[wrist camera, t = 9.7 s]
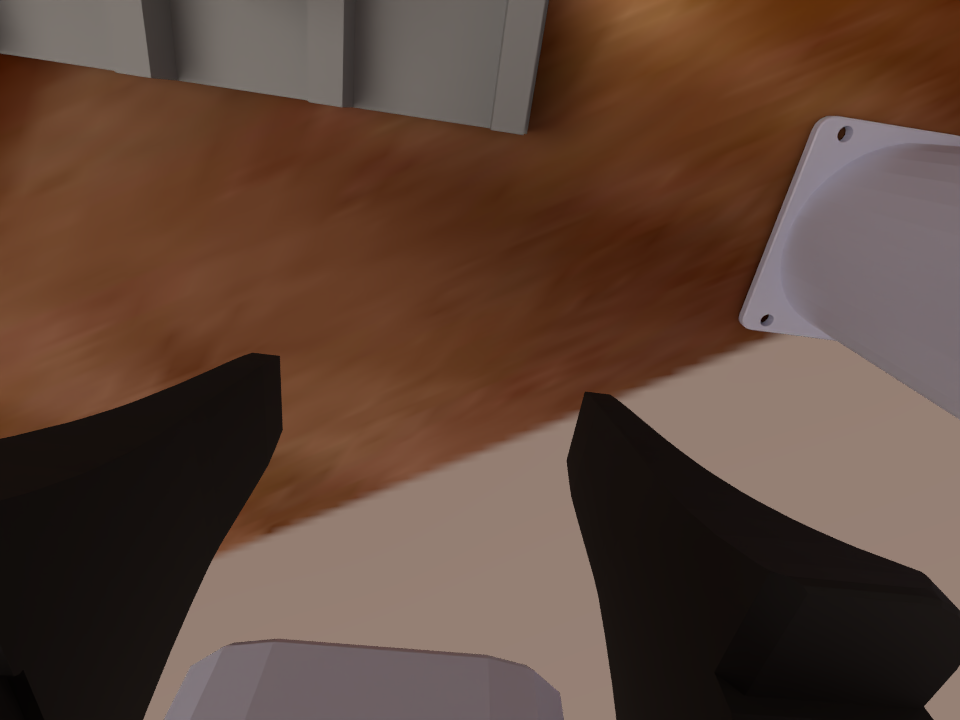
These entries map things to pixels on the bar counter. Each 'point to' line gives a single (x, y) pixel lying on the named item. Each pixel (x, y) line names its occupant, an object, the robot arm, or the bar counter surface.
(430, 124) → the bar counter surface
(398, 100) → the drying rack
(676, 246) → the bar counter surface
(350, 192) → the bar counter surface
